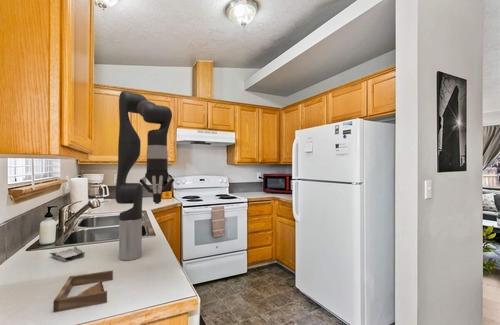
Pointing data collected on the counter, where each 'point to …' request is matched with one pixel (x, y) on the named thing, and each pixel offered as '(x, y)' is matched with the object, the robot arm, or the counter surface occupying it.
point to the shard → (93, 289)
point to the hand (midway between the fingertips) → (157, 203)
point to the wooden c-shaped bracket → (81, 300)
